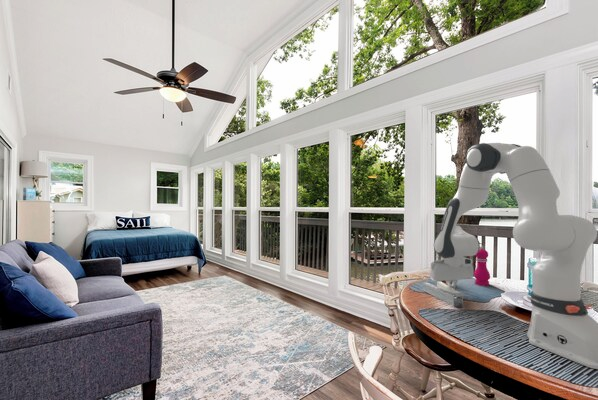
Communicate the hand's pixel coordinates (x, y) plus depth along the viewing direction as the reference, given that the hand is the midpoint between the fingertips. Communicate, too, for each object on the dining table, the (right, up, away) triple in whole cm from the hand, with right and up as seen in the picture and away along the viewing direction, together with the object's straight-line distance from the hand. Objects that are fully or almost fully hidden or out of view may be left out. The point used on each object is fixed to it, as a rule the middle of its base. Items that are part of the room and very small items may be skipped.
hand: (451, 289), depth 132 cm
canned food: (+6, -3, +18) cm, 19 cm away
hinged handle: (-4, -3, -4) cm, 6 cm away
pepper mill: (+25, -3, +18) cm, 31 cm away
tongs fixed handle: (-7, -3, -5) cm, 9 cm away
